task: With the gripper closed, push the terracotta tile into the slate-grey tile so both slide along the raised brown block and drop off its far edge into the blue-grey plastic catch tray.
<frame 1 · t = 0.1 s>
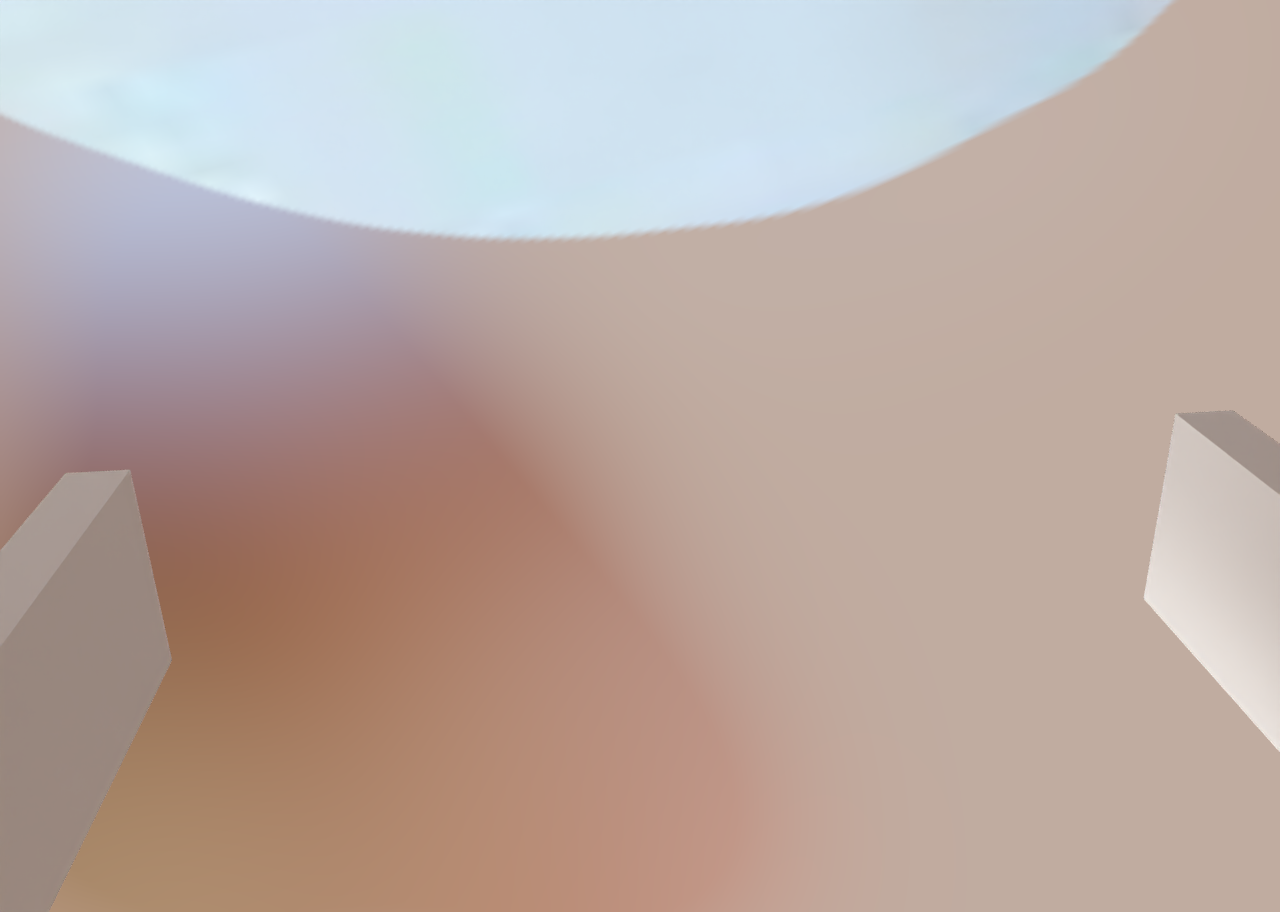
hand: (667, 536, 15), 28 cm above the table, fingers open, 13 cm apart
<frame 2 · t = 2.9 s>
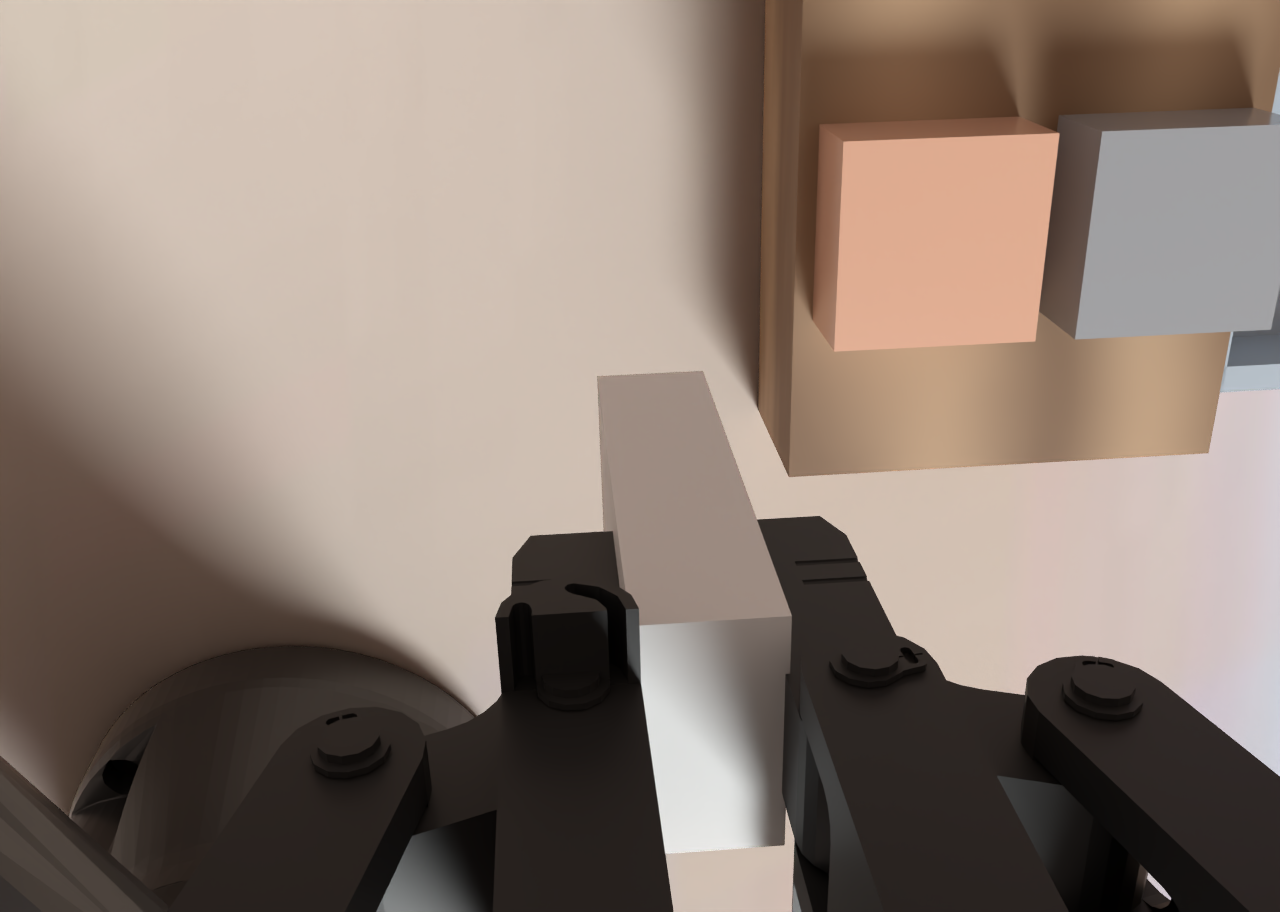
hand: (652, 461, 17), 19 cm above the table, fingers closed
terracotta tile: (912, 221, 31), point 5 cm above the table, touching brown block
slate-grey tile: (1141, 211, 31), point 5 cm above the table, touching brown block
brown block: (964, 177, 35), on the table
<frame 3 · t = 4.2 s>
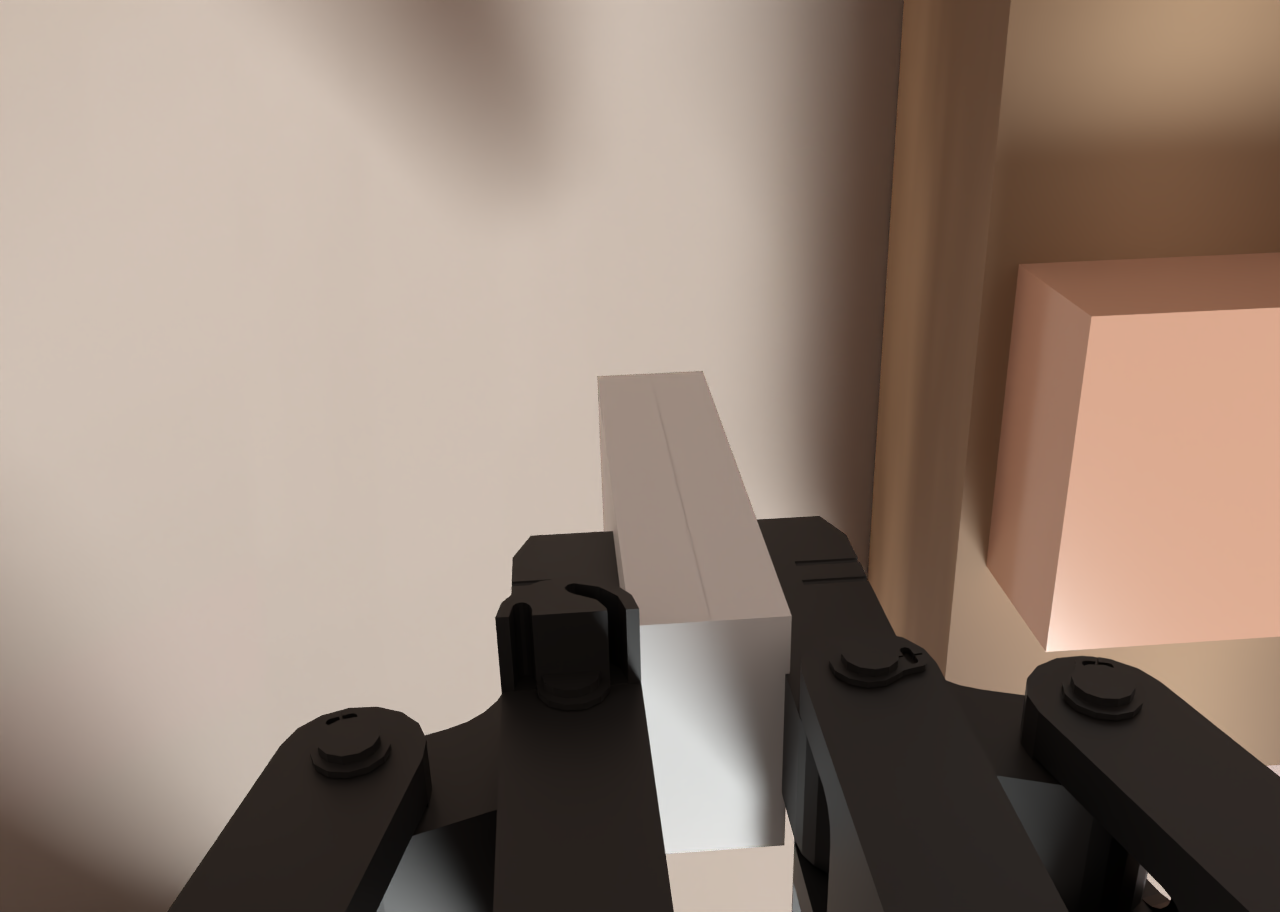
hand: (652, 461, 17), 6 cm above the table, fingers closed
terracotta tile: (1159, 414, 19), point 5 cm above the table, touching brown block
brown block: (1188, 309, 23), on the table
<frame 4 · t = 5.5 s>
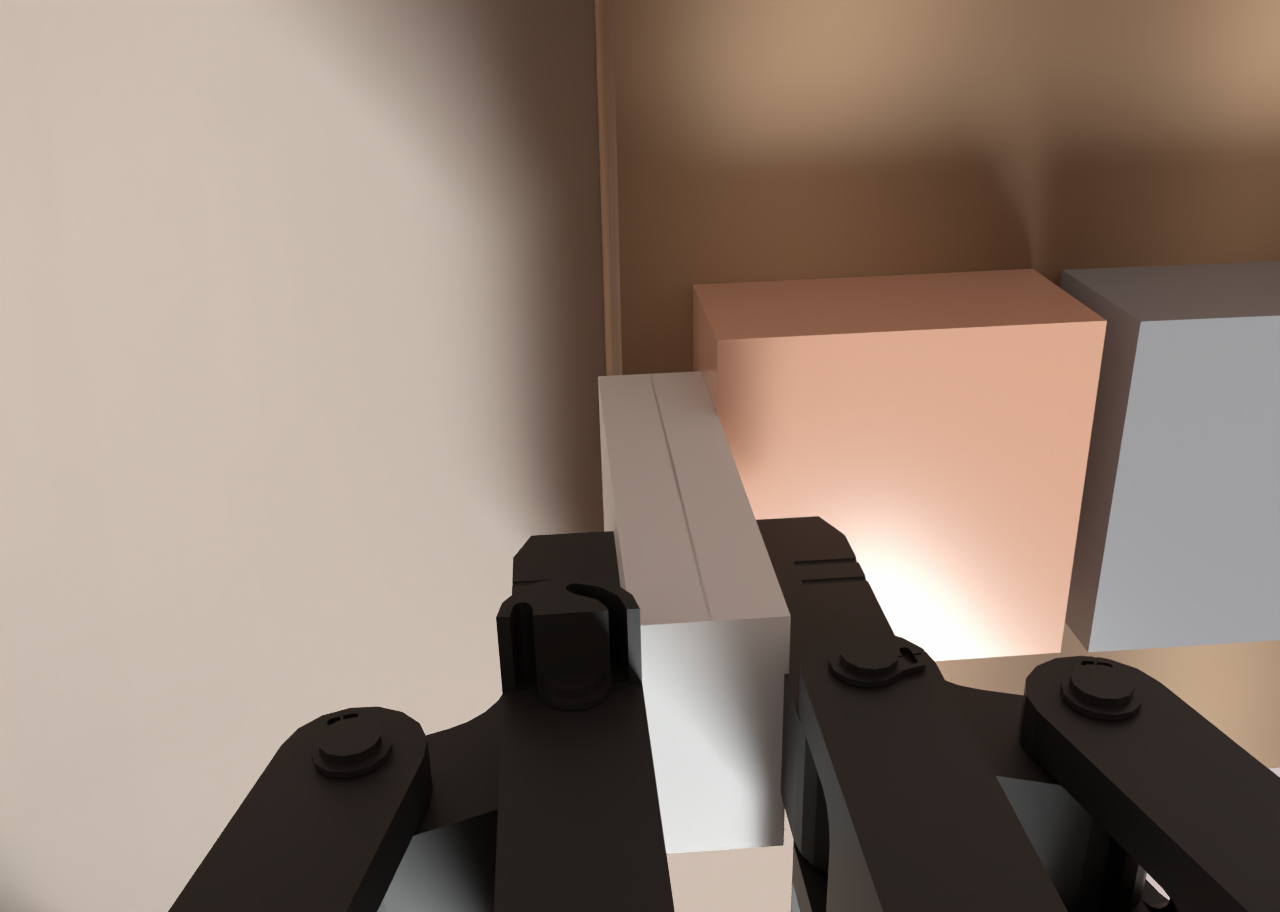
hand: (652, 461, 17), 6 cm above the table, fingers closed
terracotta tile: (855, 435, 18), point 5 cm above the table, touching gripper
slate-grey tile: (1196, 419, 19), point 5 cm above the table, touching brown block
brown block: (915, 328, 23), on the table
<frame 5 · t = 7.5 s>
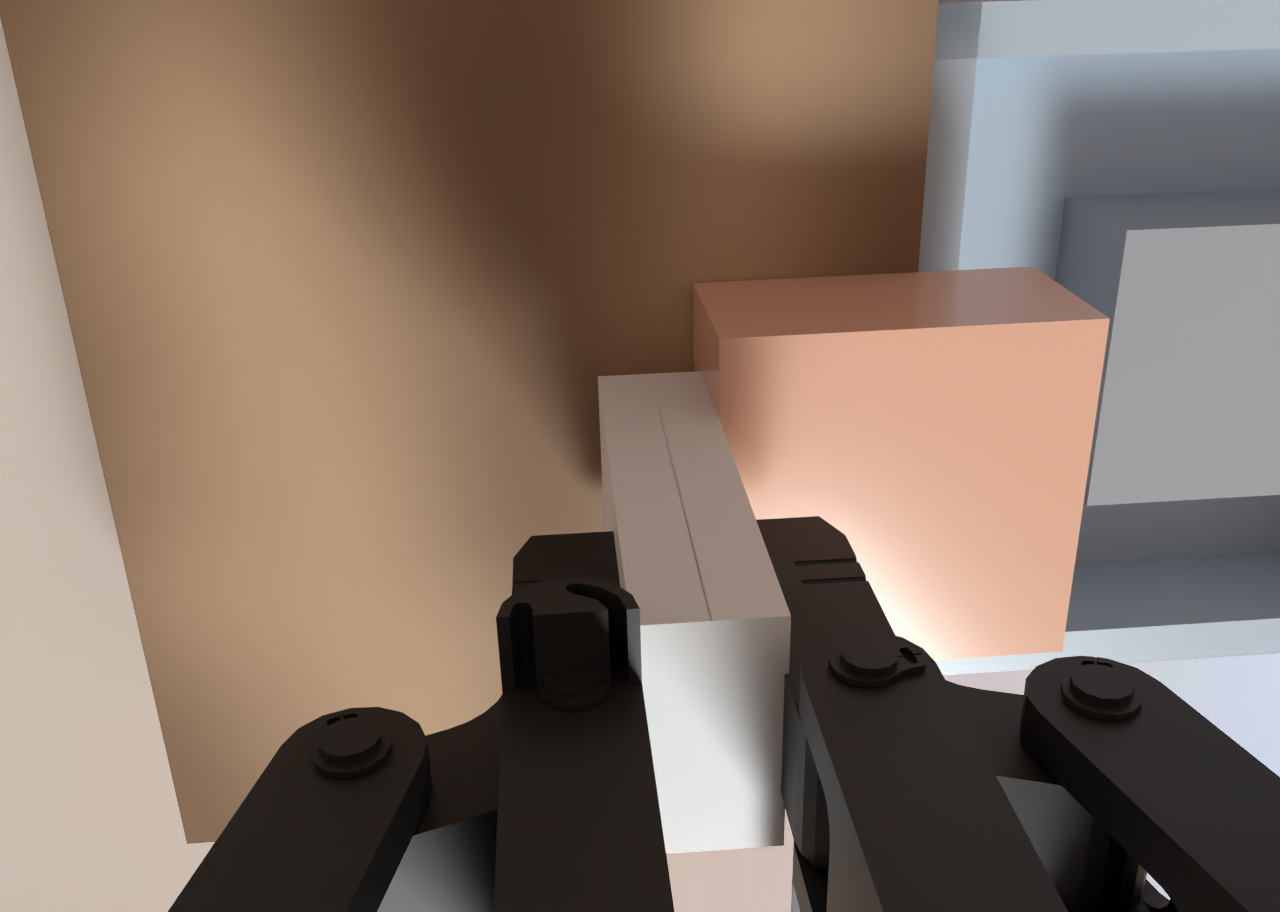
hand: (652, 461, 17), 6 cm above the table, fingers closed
terracotta tile: (856, 433, 18), point 5 cm above the table, touching gripper
slate-grey tile: (1246, 367, 21), point 3 cm above the table, tilted 180°, touching tray
tray: (1126, 314, 23), on the table
brown block: (517, 343, 23), on the table
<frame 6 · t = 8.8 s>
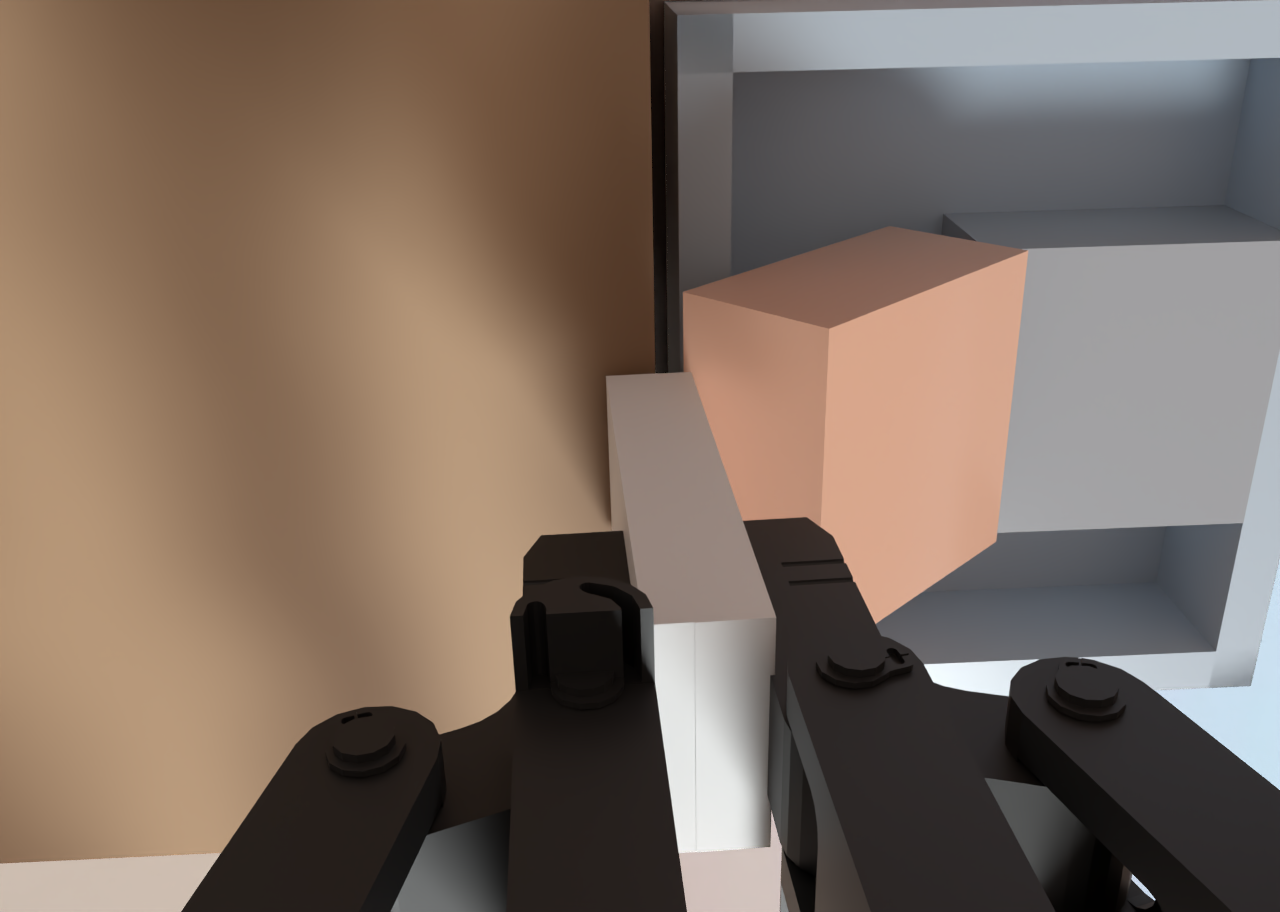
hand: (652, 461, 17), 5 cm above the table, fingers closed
terracotta tile: (790, 408, 19), point 3 cm above the table, tilted 43°, touching gripper, slate-grey tile
slate-grey tile: (1122, 394, 20), point 3 cm above the table, tilted 180°, touching terracotta tile, tray
tray: (951, 337, 22), on the table
brown block: (313, 359, 22), on the table
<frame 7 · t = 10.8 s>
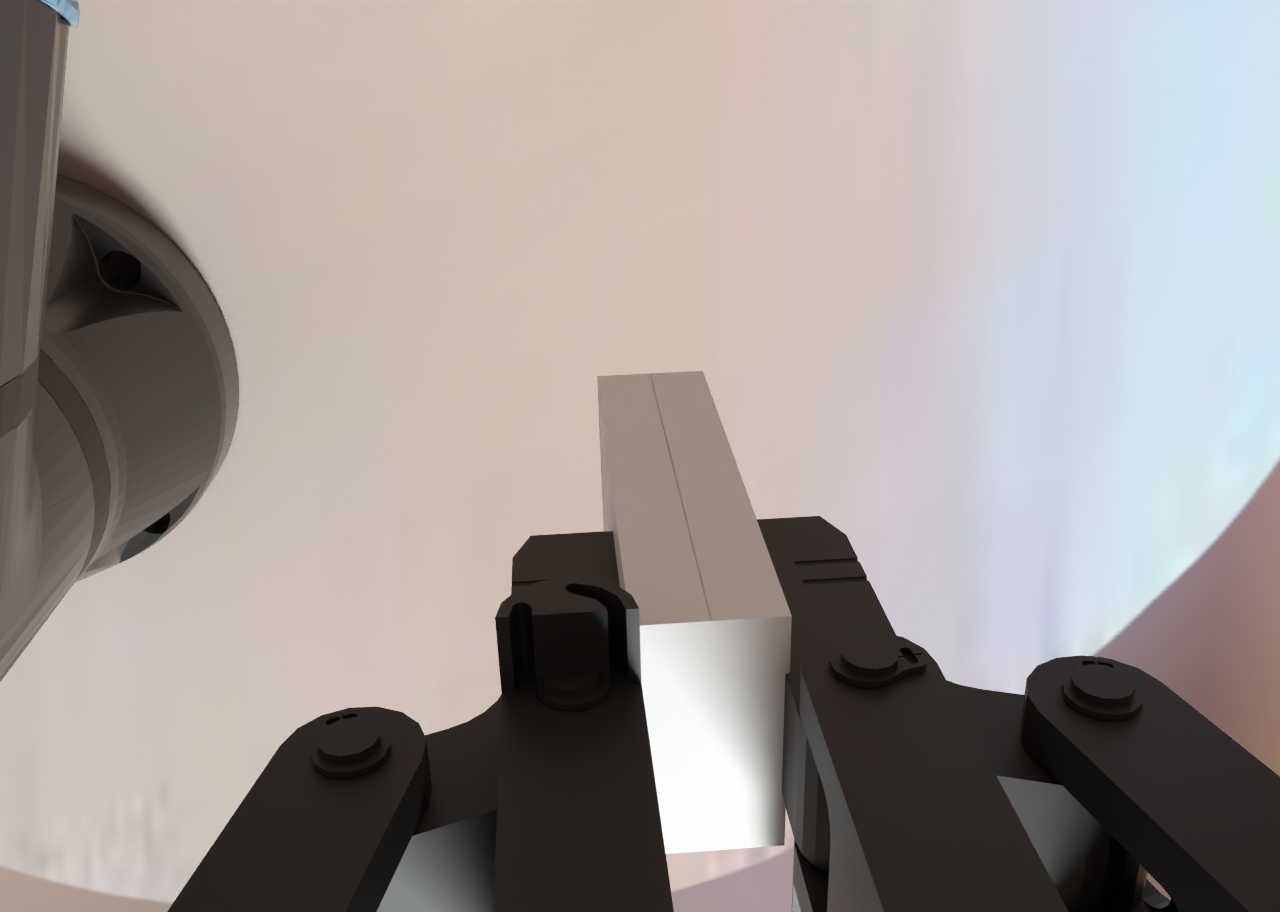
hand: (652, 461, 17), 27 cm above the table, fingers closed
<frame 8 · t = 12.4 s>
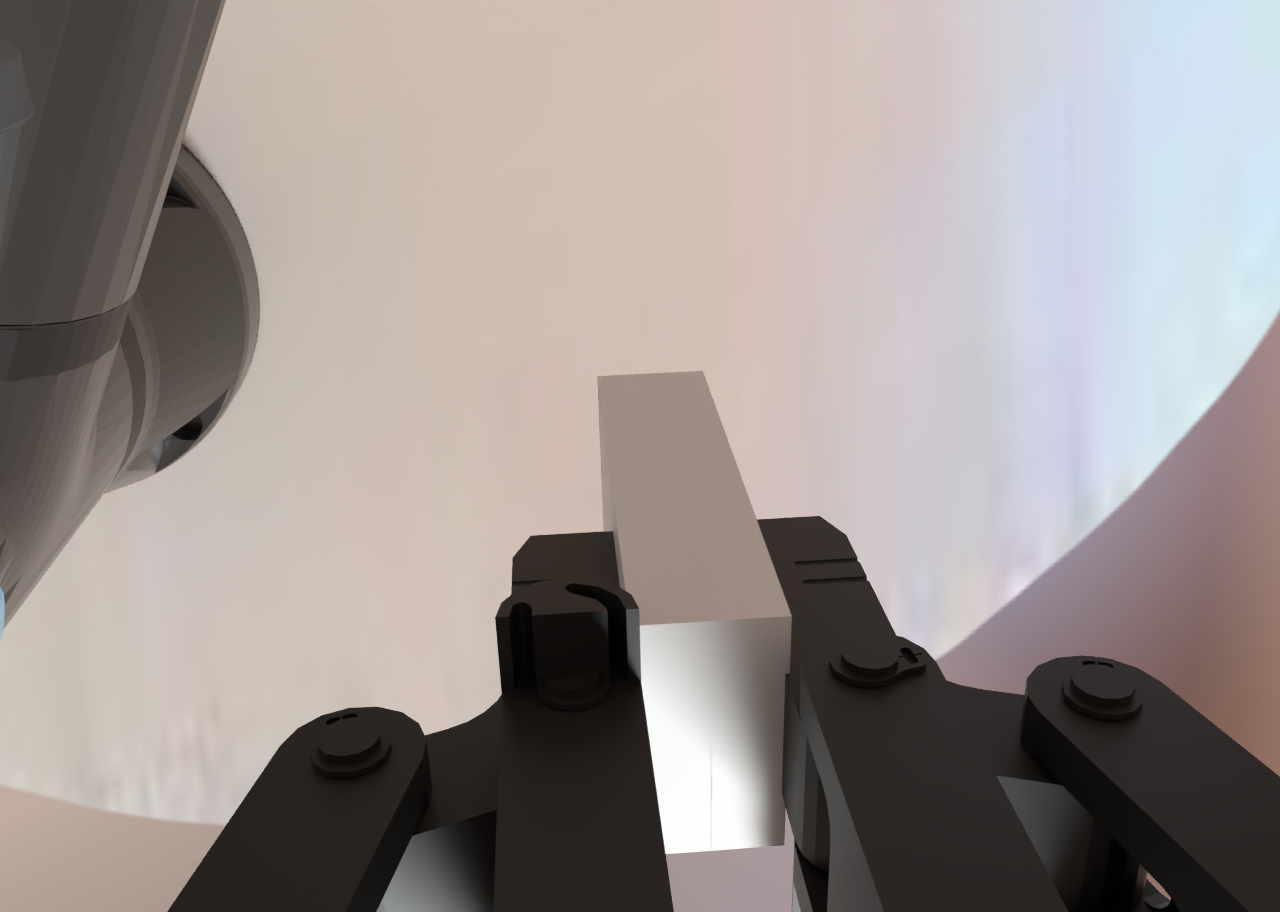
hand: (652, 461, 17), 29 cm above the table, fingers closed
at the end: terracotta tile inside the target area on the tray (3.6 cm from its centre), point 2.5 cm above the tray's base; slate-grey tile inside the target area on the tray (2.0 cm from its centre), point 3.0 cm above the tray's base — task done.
